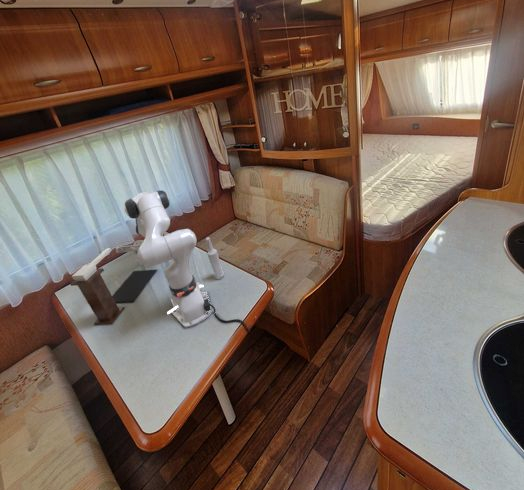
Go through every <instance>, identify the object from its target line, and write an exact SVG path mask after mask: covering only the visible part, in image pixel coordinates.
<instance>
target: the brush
mask: <svg viewBox="0 0 524 490" xmlns="http://www.w3.org/2000/svg"><path fill="white" fill-rule="evenodd" d="M111 252H112V248H111V247H107V248H105V249H104V250H103V251H101V252H100V254H98V255H97V256H96V257H95V258H94V259H93V260H92V261H90V263H88V264H83V266H81V268H79V269H78V270H76V271H75V272H74V273H73V274H72V275H71V277H72V280H73V281H74V280H76V281H86V280H87V279H89V278H90V277H91V276H92V275H93V274H94V273H95V272H96V271H97V269H98V268H97V265H98V264H99V263H100V262H101V261H102V260H103V259H104V258H105V257H106V256H108V255H109V254H110V253H111Z"/></svg>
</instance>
